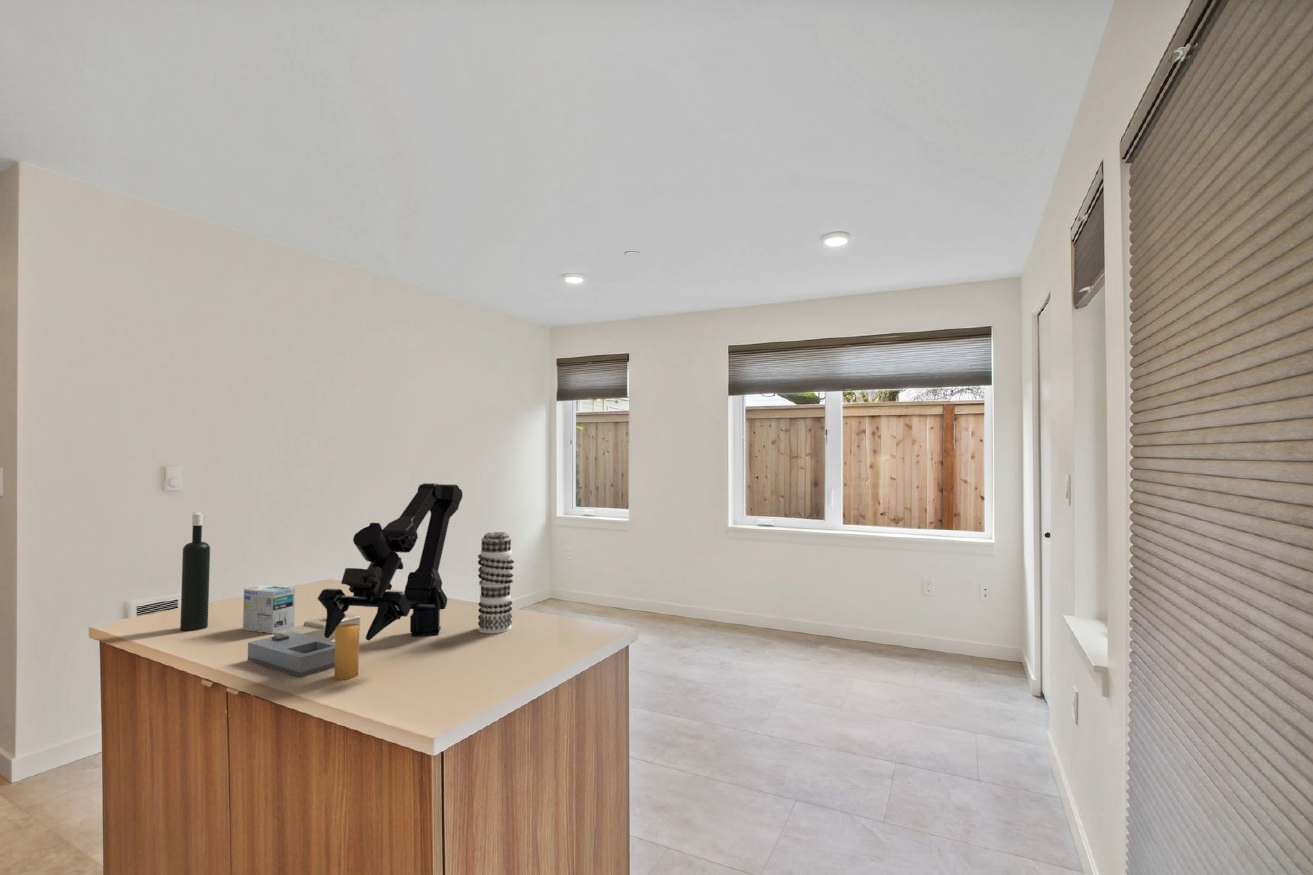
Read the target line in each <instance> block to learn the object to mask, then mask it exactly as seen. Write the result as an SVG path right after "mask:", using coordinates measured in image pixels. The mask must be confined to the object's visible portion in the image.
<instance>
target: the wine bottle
mask: <svg viewBox="0 0 1313 875" xmlns="http://www.w3.org/2000/svg"><path fill="white" fill-rule="evenodd" d="M203 515H204V512H203V511H196V512H194V511H193V512H192V521H191V525H192V538H191V542H188V543H186V544H185V545H184V546H183V547H182V559H181V560H182V562H181V563H182V565H181V566H182V567H181V568H182V570H181V593H180V594H181V596H180V623H179V624H180V629H179V630H180V631H182V632H192V631H193V632H194V631H200V630H204V629H206V628H208V626H209V602H210V600H209V599H210V598H209V596H210V593H209V591H210V560H211V559H210V558H211V546H210V545H209V543H208V542H206V541H202V537H203V536H202V535H203V534H202V533H203V532H202V531H203V518H204V517H203Z"/></svg>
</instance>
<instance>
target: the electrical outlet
mask: <svg viewBox="0 0 1313 875" xmlns="http://www.w3.org/2000/svg"><path fill="white" fill-rule="evenodd" d="M344 614H345V617H344V618H343V620H342V621H341V622H340V624H339V625H338V626H340V625H345V624H358V625H359V631H361V616H360V615H357V614H356V615H355V614H349V613H346V612H344ZM326 619H327V616H324V617H319V618H315V619H314V618H313V619H310V620H309V619H308V620H306V621H304V622H303V624H302V625H299V626H295V627H293V628H289V629H285V630H280V631H276V632H274V633H273V636H277V635H281V634H286V633H290V632H297V633H301V634H305V635H309V636H313V637H317V638H321V639H324V640H328V641H331V640H335V633H336V629H335V631H334V632H333V633H332V635H331V636H330V637H329V638H326V637H325V636H324V634H325V626H326Z"/></svg>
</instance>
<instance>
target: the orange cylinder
mask: <svg viewBox="0 0 1313 875" xmlns="http://www.w3.org/2000/svg"><path fill="white" fill-rule="evenodd" d="M334 640H335V641H334V642H335V667H334V679H335V680H338V681H339V680H341V681H342V680H351V679H354V678H356V677H358V676H359V664H360V663H359V662H360V660H359V658H360V657H359V656H360V632H359V625H358V624H345V625H340V626H337V627H336V633H335V639H334ZM350 678H351V679H350Z"/></svg>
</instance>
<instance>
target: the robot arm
mask: <svg viewBox="0 0 1313 875" xmlns="http://www.w3.org/2000/svg"><path fill="white" fill-rule="evenodd" d="M415 493H416V494H414V496H413V497H412V499H411V500H410V502H409V503H408V504H407V506H406V507H405V509H403V511H402V513H401V515H400V516H398V518H397V519H394V520H392V521H391V522H389V523H387V525H385V526H384V527H383V528H382V526H381V523H380V522H370V523H369V525H368V526H366V527H363V528H362V529H360V530H358V531H357V532H356V533H355V534H354V536H353V538H352V542H353V544H354V545H355V547H356V549H357V550H358V552H359V553H360V554H361V556H362V557H363V558H364V560H365V561H366V562H369V565H368V567H367V568H359V567H358V568H356V567H355V568H354V567H352V568H351V567H346V568H344V572H343V576H342V580H341V584H342V585H346V586H348V587H349V588H348V590H349V592H350V593H353V594H352V595H346V594H345V593H344V591H343V590H342V589H341V588H340V589H339V588H323V589H322V591H321V592H320V593H319V595H318V597H317V600H318V601H319V602H320V603H321V605H322V606H323V607H324V609H325V610H326V617H327V619H326V626H325V634H324V636H325V637H326V638H329V637H330V636H331V635H332V633H333V632H334V631H335V629H336V627H337V626H338V625H339V624H340V622H341V621H342V620H343V618H344V617H345V614H346V612H347V611H348V610H349V608H350V607H353V606H354V607H364V608H365V607H366V608H377V610H376V614H375V616H374V618H373V620H372V622H371V624H370V626H369V628H368V631H367V633H366V634H365V640H366V641H371V640H372V639H373V638H374V637H375V636H377V635H378V634H379V633H381V632H382V631H383V630H384V629H385V628H387V627H388V626H389V625H391V624H392V623H394V622H395V621H397V620H401V618H402V617H405V618H406V617H408V615H409V613H410V611H411V610H412V613H411V615H410V617H409V618H410V620H409V623H410V624H409V632H411V634H410V635H411V637H416V636H417V637H420V636H421V637H422V636H436V635H439V634H440V630H441V629H442V626H441V625H440V622H441V610H445V609H446V607H447V605H448V597H447V595H446V593H445V592H444V589H443V588H442V586H443V581H442V578H441V575H440V573H439V568H440V564H441V558H442V555H443V550H444V545H445V542H446V536H447V531H448V528H449V523H450V519H451V517H453V515H454V514H455V513H456V512H457V511H458V509H459V508H460V504H461V501H462V499H463V491H462V489H461V488H460V487H459V486H458V485H457V484H442V483H441V484H439V483H427V482H426V483H422V484H419V485H418V487H417V491H416V492H415ZM429 512H430V517H429V521H428V526H427V530H426V533H425V538H424V543H423V547H422V552H421V555H420V560H419V565H418V567H417V568H416V570H414V571H410V572H409V574H408V576H407V580H406V584H405V587H404V591H396V590H395V591H394V590H393V591H392V588H393V585H392V584H391V582H392V580H393V578H394V575H395V574H396V572H397V570H404V563H403V561H402V557H401V556H400V555H399V554H398V553H403V554H404V553H405V554H406V553H410V552H411V551H412V550H413V549H414V546H415V545H416V543H417V540H418V538H419V535H418V528H419V527H420V525H421V524H422V523H423V521H424V519H425V517H426V516H427V515H428V513H429ZM344 613H345V614H344Z"/></svg>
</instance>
